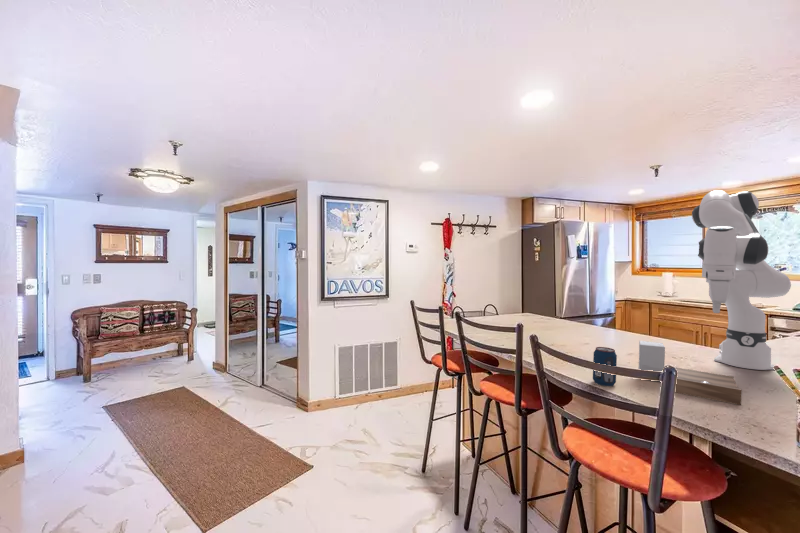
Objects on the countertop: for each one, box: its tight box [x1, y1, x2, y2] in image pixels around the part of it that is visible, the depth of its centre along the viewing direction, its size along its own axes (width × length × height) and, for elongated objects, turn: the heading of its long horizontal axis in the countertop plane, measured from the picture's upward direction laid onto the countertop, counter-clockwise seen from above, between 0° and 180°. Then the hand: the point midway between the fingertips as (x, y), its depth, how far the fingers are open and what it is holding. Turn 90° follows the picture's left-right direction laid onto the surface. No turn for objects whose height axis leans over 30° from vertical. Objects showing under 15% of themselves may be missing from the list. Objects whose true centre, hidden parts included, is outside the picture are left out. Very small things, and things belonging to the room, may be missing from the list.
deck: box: [675, 367, 743, 406], centre depth 123 cm, size 24×16×4 cm, turn 142°
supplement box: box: [638, 340, 666, 371], centre depth 132 cm, size 7×7×13 cm
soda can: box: [592, 346, 618, 388], centre depth 126 cm, size 7×7×12 cm
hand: (716, 312), depth 129 cm, fingers closed
